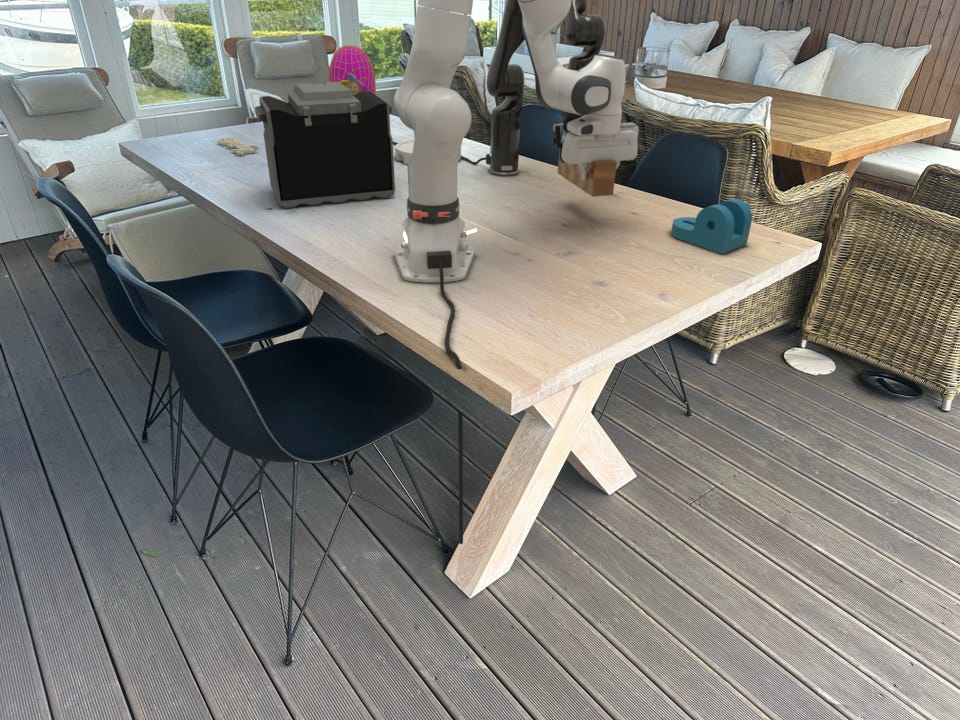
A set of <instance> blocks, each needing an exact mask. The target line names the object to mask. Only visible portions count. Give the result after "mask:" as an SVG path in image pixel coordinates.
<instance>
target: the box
mask: <svg viewBox="0 0 960 720" xmlns="http://www.w3.org/2000/svg"><path fill="white" fill-rule="evenodd" d="M558 149H559V151H558V164H557V175H559V176H560V177H562V178H564V179H565V180H567V181H568V182H570V183H571V184H573V185H574V186H576V187H577V188H579V189H580V190H582V191H583V192H584V193H586V194H587V195H589V196H591V197H595V198H596V197H603V196H604V197H605V196H606V197H607V196H613V195H614V188H615V180H616V173H617V170H616V164H617V162H616V161H614V160H605V161H592V163H587V167H584V168H585V170H586V172H588V173H589V180H582V179H581V174H582V172H581V171H580V168H579V166H578V164H567V163H562V162H561V160H560V158H559V157H560V148H558Z"/></svg>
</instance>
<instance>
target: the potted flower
mask: <svg viewBox="0 0 960 720" xmlns="http://www.w3.org/2000/svg"><path fill="white" fill-rule="evenodd" d="M348 78H349V81H346V80H342V81H341V82H340V83H341V84H342V85H343V86H345V87H346V88H347V89H349V90H350V92H351V94H352V95H353V96H354V95H356V94H358V93H360V92H361V91H360V90H361V89H363V84H362V82H361V81H358V82H357V83H356V78H355V76H354V75H352V74H350V73H348Z"/></svg>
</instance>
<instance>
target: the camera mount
mask: <svg viewBox="0 0 960 720" xmlns="http://www.w3.org/2000/svg"><path fill="white" fill-rule="evenodd" d="M752 223H753V212H752V209H751V208H750V206H749V205H748V203H746V202H745V200H742V199H740V198H731V199H729V200H724V201H722V202H720V203H719V204H712V205H710V206H707V207H704V208H702V209H700V210H699V211H698V213H697V215H696V217H695V216H683V217H677V218H675V219H673V220H672V225H671V233H670V234H671V236H672V237H674V238H675V239H678V240H680V241H683V242H686V243H689V244H691V245H695V246H698V247H700V248H703V249H706V250H710V251H712V252H715V253H719V254H721V255H724V254H726V253H728V252H732V251H733V250H737V249H739V248H741V247H744V246H747V244H748V240H749V236H750V231H751V226H752Z"/></svg>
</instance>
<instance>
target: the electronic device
mask: <svg viewBox="0 0 960 720" xmlns="http://www.w3.org/2000/svg"><path fill="white" fill-rule="evenodd" d="M287 99H288V102H287V101H284V100H282V99H279V98H276V97H273V96H271V95H263V96H259V97H258V100H259V105H258V106H254V113H255V116H256V118H257V119H258V121H259V122H261V123H262V125H263V129H264V131H263V134H262V135H263V140H264V142H263V143H264V148H265V155H266V162H267V168H268V175H269V181H270V186H271V189H272V191H273V193H274V196H275V197H276V200H277V203H278V205H279V207H281V208H285V209H289V208H290V209H291V208H296V207H298V206H299V205H308V206H319V205H320V204H322V203H328V202H329V203H332V204H339V203H345V202H346V201H348V200H356V201H360V202H361V201H367V200H369V199H370V198H375V197H376V198H378V199H387V198H391V197H392V196H394V195H395V193H396V192H395V191H396V180H395V162H394V144H393V142H394V140H393V136H392V134H391V121H390V120H391V115H390V114H392V113H393V105H390V104H389V103H387V102H386V101H385V100H383V98H380V97H379V96H377V94H376V95H375V94H373V93H372V92H370V91H362V92H360V93H358V94H356V95H354V96H353V95H352V94H351V92H350V90H349V89H347V88H346V87H345V86H343V85H342V84H341V83H340V82H329V81H324V83H311V82H304V83H295V84H294V87H293V90H290V91H289V92H287Z"/></svg>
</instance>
